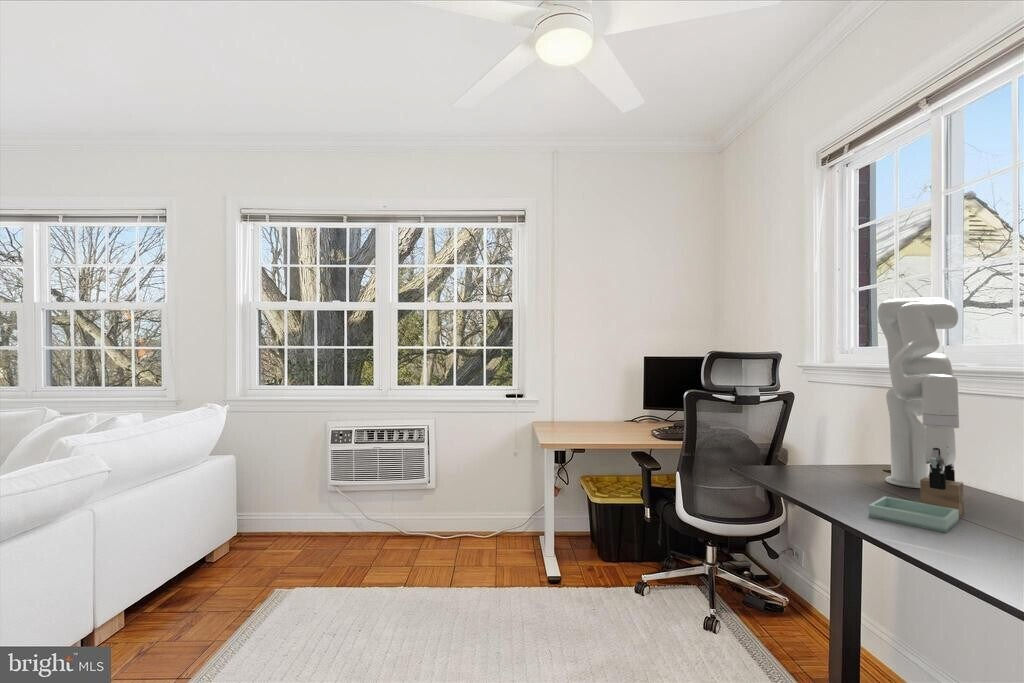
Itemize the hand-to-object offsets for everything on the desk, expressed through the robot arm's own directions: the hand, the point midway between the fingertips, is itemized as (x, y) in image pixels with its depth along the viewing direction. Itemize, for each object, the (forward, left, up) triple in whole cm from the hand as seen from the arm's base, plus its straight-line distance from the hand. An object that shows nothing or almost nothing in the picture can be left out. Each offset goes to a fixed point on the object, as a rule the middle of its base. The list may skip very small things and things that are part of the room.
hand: (942, 486), depth 138 cm
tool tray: (+13, -3, -7) cm, 15 cm away
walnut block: (-1, 0, -7) cm, 7 cm away
